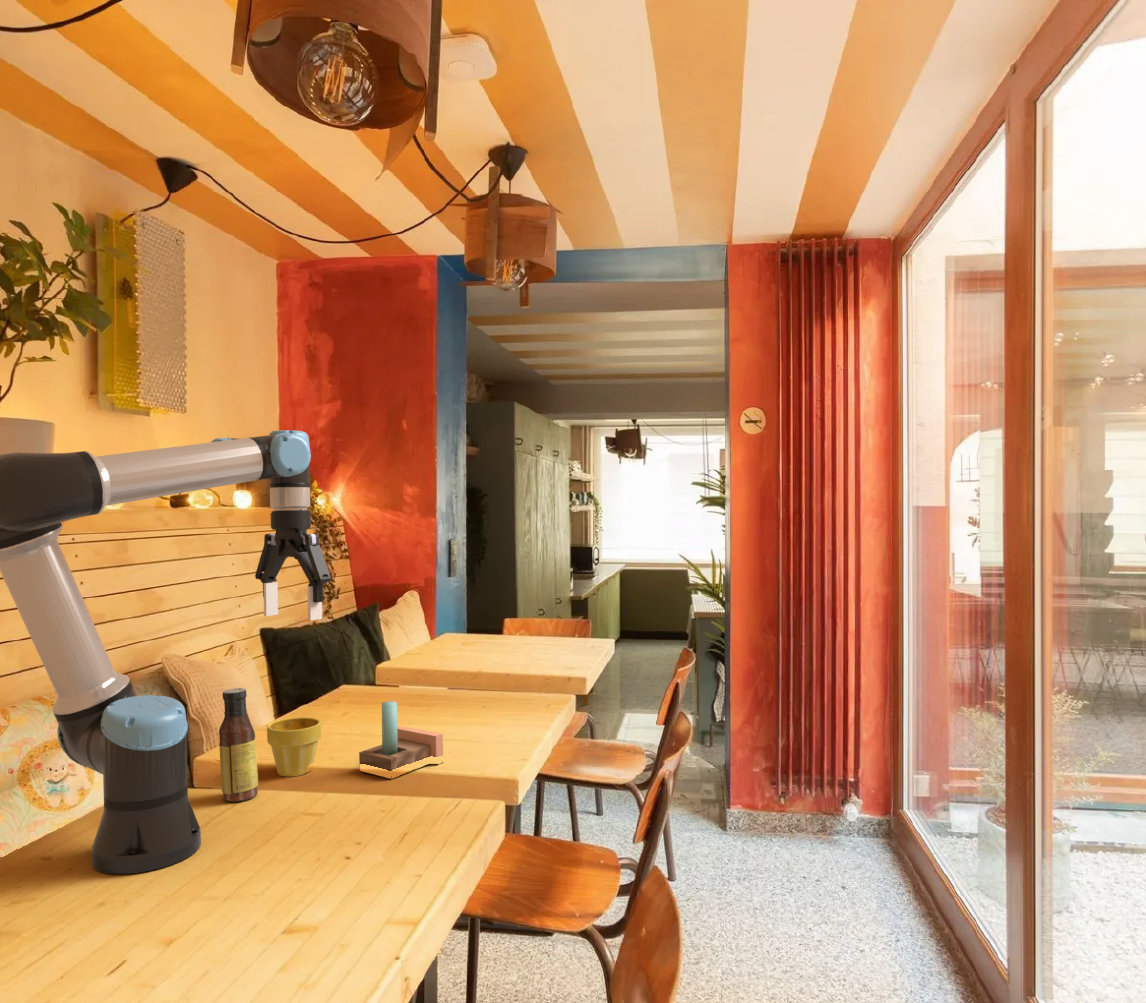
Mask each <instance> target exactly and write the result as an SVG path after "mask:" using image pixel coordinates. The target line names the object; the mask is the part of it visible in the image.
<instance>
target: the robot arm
mask: <svg viewBox="0 0 1146 1003" xmlns="http://www.w3.org/2000/svg"><path fill="white" fill-rule="evenodd" d="M310 446H311V445H310V438H309V435H308V433H307V432H305V431H302V430H287V429H285V430H284V429H283V430H282V429H281V430H280V429H278V430H272V431H270V432H269V434H268V435H261V436H253V437H251V436H250V437H245V438H237V437H236V438H233V437H231V436H229V437H220V438H219V437H218V438H217V437H216V438H214V439H213V440H212V441H210V442H204V443H196V444H187V445H180V446H179V445H178V446H169V447H163V448H156V449H155V448H153V449H146V450H138V451H132V452H131V451H130V452H122V453H114V454H105V455H98V456H95V455H94V454H93V453H91V452H89V451H86V450H82V451H76V452H75V451H74V452H73V451H72V452H58V453H57V452H55V453H54V452H52V453H50V452H49V453H47V452H44V453H43V452H20V451H19V452H17V451H16V452H10V453H9V452H8V453H4V454H0V574H1V576H2V579H3V581H4V583H5V585H6V588H7V589H8V591H9V594H10V596H11V597H12V599H13V602H14V604H15V606H16V608H17V611H18V613H19V615H20V618H21V619H22V622H23V623H24V625H25V628H26V630H27V632H28V635H29V637H30V638H31V641H32V643H33V645H34V647H35V649H36V651H37V654H38V656H39V658H40V660H41V662H42V665H43V667H44V669H45V672H46V674H47V675H48V677H49V679H50V682H51V684H52V687H53V688H54V690H55V692H56V695H57V698H56V699H55V702H54V704H53V705H52V707H51V710H52V713H53V715H54V717H55V720H56V722H57V740H58V743H59V746H60V748H61V750H62V751H63V752H64V753H65V755H66V756H67V757H68V758H69V759H70V760H71V761H73V762H75V763H76V764H77V765H80V766H81V767H84V768H87V769H90V770H92V771H94V772H97V773H98V774H101V775H102V779H103V780H102V781H103V783H102V784H103V786H102V788H103V813H102V816H101V818H100V821H99V822H100V823H99V826H98V828H97V831H96V835H95V838H94V841H93V844H92V847H91V853H90V854H91V866H92V868H93V869H94V870H95V871H97V872H100V873H105V874H111V875H112V874H113V875H128V874H129V875H130V874H137V873H144V872H150V871H154V870H157V869H161V868H166V867H170V866H171V865H175V864H176V863H179V862H181V861H182V862H183V861H184V860H186V859H187V858H189V857H191V856H192V855H193V854H195V853H197V851H198V850H199V849H200V848H201V845H202V835H201V832H202V831H201V826H200V824H199V822H198V820H197V817H196V814H195V811H194V809H193V807H192V804H191V802H190V800H189V788H188V786H189V785H188V784H189V782H188V780H189V779H188V775H189V774H188V729H189V725H188V723H189V722H188V721H187V714H186V707H185V705H183V703H182V702H181V701H179V700H178V699H175V698H173V697H169V696H164V695H159V696H156V695H155V694H154V695H152V694H148V695H146V694H144V695H137V693H136V691H135V688H134V686H133V684H132V681H131V679H130V677H129V676H128V675H127V674H123V673H119V672H116V671H115V669H114V667H113V664H112V662H111V659H110V658H109V656H108V653H107V650H106V649H105V646H104V644H103V641H102V639H101V637H100V634H99V632H98V630H97V628H96V626H95V624H94V621H93V619H92V617H91V615H90V612H89V610H88V608H87V605H86V602H85V600H84V598H83V596H82V594H81V592H80V589H79V587H78V585H77V582H76V580H75V578H74V576H73V573H72V571H71V569H70V566H69V564H68V562H67V560H66V557H65V556H64V552H63V551H62V548H61V546H60V544H59V542H58V539H59V538H58V537H59V536H60V534H61V532H62V530H63V529H64V526H63V522H67V521H71V520H74V519H78V518H83V517H84V518H85V517H89V516H96V515H99V514H101V513H102V512H103V510H104V509H105V507H108V506H112V505H118V504H119V505H120V504H124V503H131V502H136V501H143V500H149V499H154V498H160V497H165V496H166V497H167V496H171V495H178V494H182V493H188V492H195V491H199V490H200V491H201V490H206V489H208V490H209V489H214V488H219V487H225V486H231V485H237V484H242V483H247V482H253V481H254V482H255V481H262V480H269V508H272V509H273V510H272V511H271V512H270V528H271V530H273V531H275V533H265V534H264V538H263V539H264V540H263V547H262V550H261V553H260V556H259V560H258V565H257V567H256V568H257V569H256V571H255V574H254V577H255V579H256V580H260V582H261V583H262V598H263V616H265V617H270V616H277V615H279V596H278V595H279V594H278V592H279V591H278V585H279V584H278V580H277V576H278V574H279V572H281V570H282V569H281V568H282V567H283V566H284V563H285V561H286V559H287V558H294V559H295V560H297V562H298V563H299V566H300V567H301V569H302V572H303V573H304V575H305V577H306V578H307V580H308V584H307V586H306V587H307V620H308V621H317V620H322V619H323V602H324V585H325V584H327V583H330V582H331V581H332V577H331V574H330V571H329V568H328V566H327V562H326V560H325V557H324V554H323V551H322V547H321V544H320V537H319V536H320V535H319V534H318V533H308V532H307V531H308V530H309V529H311V526H312V516H311V515H312V512H310V510H308V508H310V507H311V458H312V454H311V448H310Z"/></svg>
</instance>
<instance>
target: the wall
mask: <svg viewBox="0 0 1146 1003" xmlns="http://www.w3.org/2000/svg"><path fill="white" fill-rule="evenodd" d="M443 735H444V734H443V733H440V732H434V731H429V730H424V729H418V728H413V727H409V726H402V725H400V726H397V739H404V740H409V741H414V742H419V743H424V744H428V745H431V756H433V757H439V756H442V755H443V756H444V741H443V740H444V739H443Z"/></svg>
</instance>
